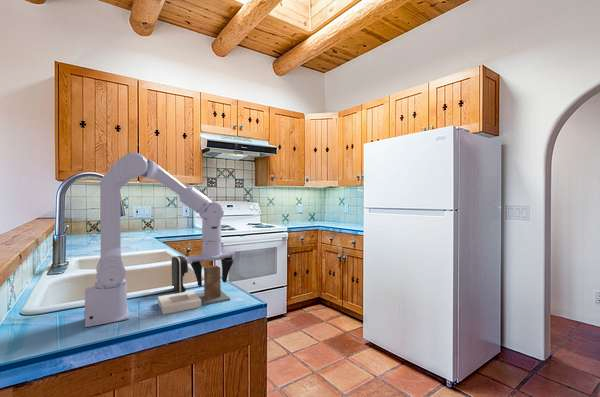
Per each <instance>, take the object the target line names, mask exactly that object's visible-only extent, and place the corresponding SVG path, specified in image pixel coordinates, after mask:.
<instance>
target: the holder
mask: <svg viewBox="0 0 600 397" xmlns="http://www.w3.org/2000/svg"><path fill="white" fill-rule="evenodd" d="M197 294H198V293H196V292H195V291H194V290H189V291H183V292H176V293H172V294H171V293H170V294H165V295H159V296H157V303H158V306H159V308H160V311H161V313H162V315H167V314H173V313H178V312H182V311H187V310H193V309H198V308H202V303H201V299H200V298H199V297H198V296H197Z"/></svg>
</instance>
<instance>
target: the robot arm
mask: <svg viewBox="0 0 600 397" xmlns="http://www.w3.org/2000/svg"><path fill="white" fill-rule="evenodd" d="M141 176H142V178H143V179H147V180H148V179H149V180H155V181H157V182H158V183H159V184H160V185H163V186H165V187H166V188H168V189H169V190H170V191H172V192H174V193H175V194H177V195H178V197H179V202H181V203H182V204H183V205H185V206H186V207H188V208H189V209H191V210H192V211H194V212H195V213H197V214H198V215H199V216H200V218H201V221H202V222H201V224H202V225H201V238H202V239H201V245H202V246H201V247H202V248H201V249H202V250H201V254H196V255H189V256H187V257H186V259H187V263H188V265H190V266H191V268H192V269H193V272H194V275H195V278H196V281H197V282H196V283H197V286H198V287H199V288H200V287H202V286H203V281H202V280H203V279H202V273H203V272H202V270H203V265H202V263H205V262H206V263H207V262H212V261H213V262H214V261H220V262H221V282H222V283H224V284H225V283H227V280H228V276H229V272H230V269H231V268H232V265H234V264H233V263H234V259H236V252H235V251H222V218H223V217H224V213H225V212H224V210H223V208H222V206H221V204H220V203H217V202H214V201H213V198H212V197H208V196H206V195H205V194H204V193H202V191H200V190H201V189H200V187H198V186H195V187H194V186H193V185H191V186H186V185H184V184H183V183H182V182H180V181H179V180H178V179H177V178H175V177H174V176H173V175H172V174H170V173H169V172H168V171H167V170H165V169H164V168H163V167H161V166H160V165H159V164H157V162H155V161H153V160H151V159H149V158H146V157H145V156H144V155H143V154H141V153H139V152H135V151H134V152H129V153H126V154H125V155H122V156H121V157H120V158H117V160H116V161H115V163H113V165H112V166H111V167H110V168H109V169H108V171H107V172H106V173H105V174H104V175H103V177H102V178H101V179H100V181H99V182H100V184H99V186H100V187H99V188H100V190H99V192H100V193H99V194H100V196H99V197H100V203H99V205H100V210H99V211H100V213H99V214H100V258H99V261H98V263H97V265H96V267H95V268H96V270H95V271H96V282H94V284H93V286H90V287H89V286H88V287H86V288H85V290H84V291H85V292H84V311H83V317H84V321H85V322H84V324H85V325H84V327H85V328H88V327H89V328H90V327H94V326H98V325H104V324H105V325H106V324H110V323H114V322H115V323H116V322H120V321H126V320H129V319H130V314H129V313H130V312H129V308H128V294H127V293H128V292H127V290H128V289H127V287H128V286H127V279H125V277H126V268H125V266H124V263H123V260H122V251H121V250H122V249H121V248H122V247H121V245H122V244H121V243H122V242H121V238H122V237H121V235H122V234H121V230H122V228H121V189H122V188H123V187H124V186H125V185H127V184H128V183H129V182H130V181H131V180H134V179H136V178H138V177H141Z"/></svg>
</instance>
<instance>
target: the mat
mask: <svg viewBox="0 0 600 397" xmlns="http://www.w3.org/2000/svg"><path fill="white" fill-rule="evenodd" d="M196 294H197V296H198V297H199V298H200V299H201V305H203V306H206V305H212V304H217V303H221V302H227V301H230V300H231V298H230V297H229V296H228V295H227V294H226V293H225V292H223V291H222V290H221V297H217V298H211V299H207V298H206V297H205V296H204V292H200V293H196Z"/></svg>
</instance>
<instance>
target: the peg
mask: <svg viewBox="0 0 600 397" xmlns="http://www.w3.org/2000/svg"><path fill="white" fill-rule="evenodd" d="M203 284H204V285H203V287H204V289H203V290H204V291H203V293H204V296H205V297H206V298H207V299H211V298H217V297H221V291H222V289H221V267H219V266H218V265H210V266H204V267H203Z"/></svg>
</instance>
